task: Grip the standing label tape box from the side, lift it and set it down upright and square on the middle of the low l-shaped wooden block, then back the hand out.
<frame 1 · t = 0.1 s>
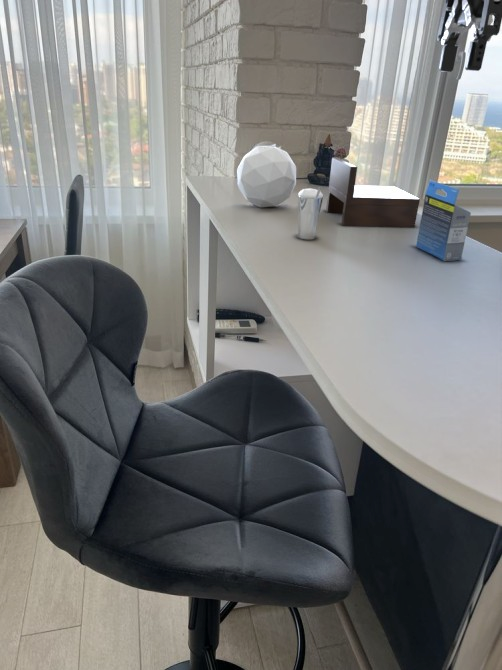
hand: (458, 71, 79), 29 cm above the table, tool pointing down, fingers open, 8 cm apart
l-shaped wooden block: (368, 218, 114), on the table
label tape box: (436, 254, 92), on the table
milkshake: (307, 239, 97), on the table
geodesic sphere: (264, 206, 121), on the table
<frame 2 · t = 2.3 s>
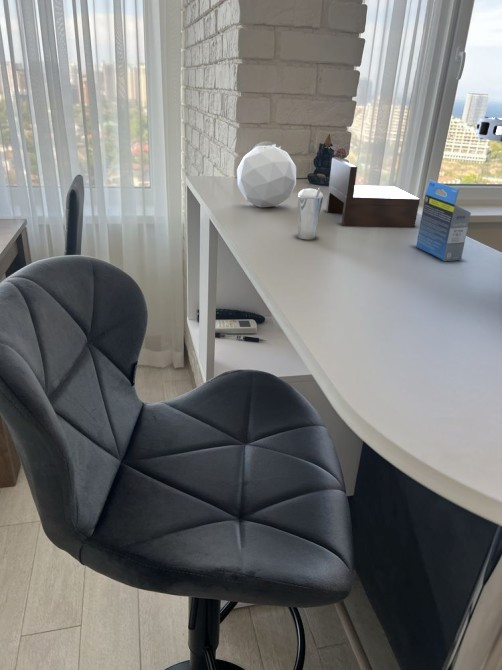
nothing on the table moved.
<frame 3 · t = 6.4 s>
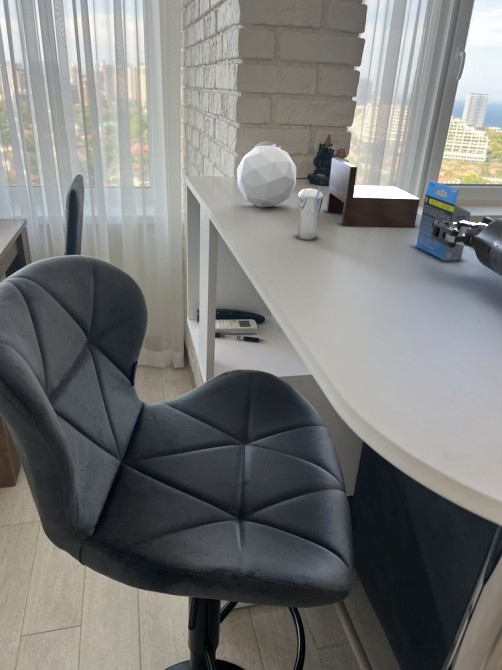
hand: (459, 222, 84), 7 cm above the table, tool horizontal, fingers open, 8 cm apart
nothing on the table moved.
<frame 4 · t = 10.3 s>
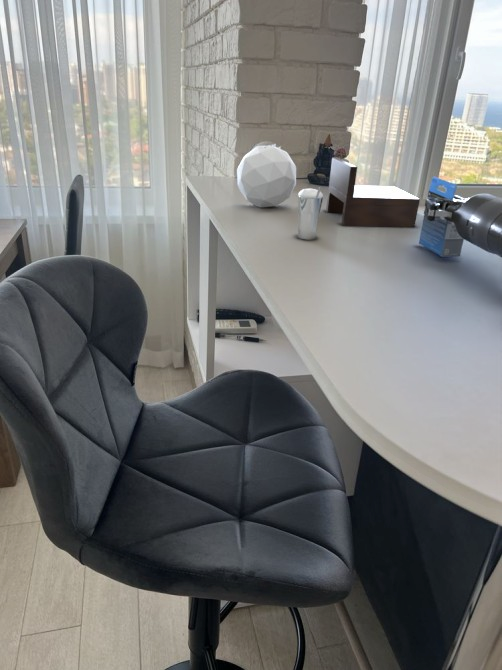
hand: (440, 201, 90), 9 cm above the table, tool horizontal, fingers open, 4 cm apart
label tape box: (437, 251, 92), on the table, touching gripper
everything else where it was.
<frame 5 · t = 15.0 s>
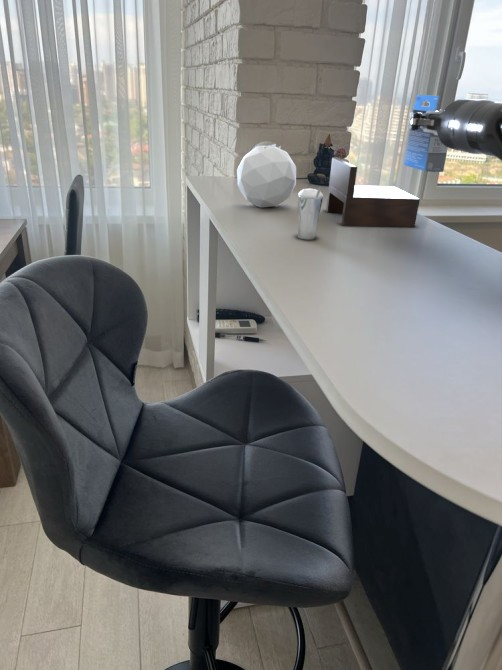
hand: (424, 119, 92), 22 cm above the table, tool horizontal
label tape box: (421, 169, 94), point 13 cm above the table, touching gripper
everything else where it was.
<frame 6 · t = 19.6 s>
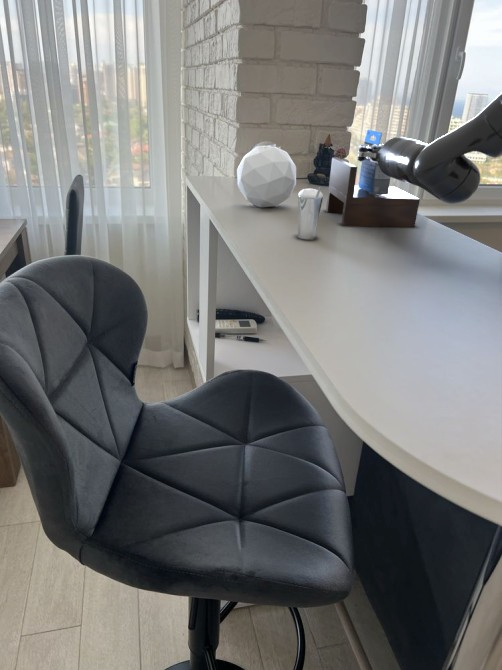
hand: (373, 150, 110), 14 cm above the table, tool horizontal, fingers closed on label tape box, 4 cm apart
label tape box: (371, 191, 111), point 6 cm above the table, touching gripper
everything else where it was.
when the fingers open (14 cm above the table, at t = 20.0 s): label tape box stays where it is, resting on l-shaped wooden block.
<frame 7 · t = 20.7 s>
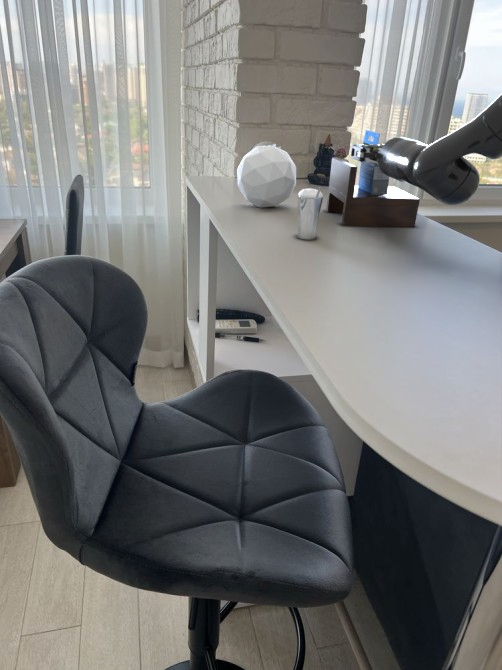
hand: (375, 149, 109), 14 cm above the table, tool horizontal, fingers open, 8 cm apart
label tape box: (371, 192, 111), point 6 cm above the table, touching l-shaped wooden block
everything else where it was.
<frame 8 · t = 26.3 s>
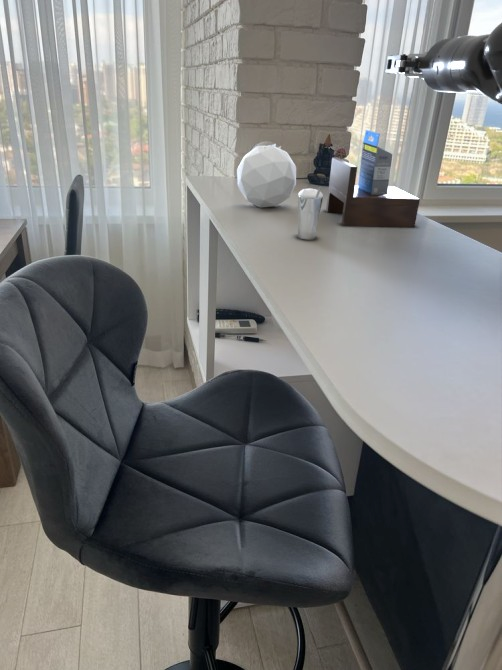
hand: (414, 67, 91), 30 cm above the table, tool horizontal, fingers open, 8 cm apart
nothing on the table moved.
at the end: label tape box inside the target area on the l-shaped wooden block (0.3 cm from its centre), point 5.8 cm above the l-shaped wooden block's base; label tape box tilted 0°; the gripper is holding nothing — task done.
